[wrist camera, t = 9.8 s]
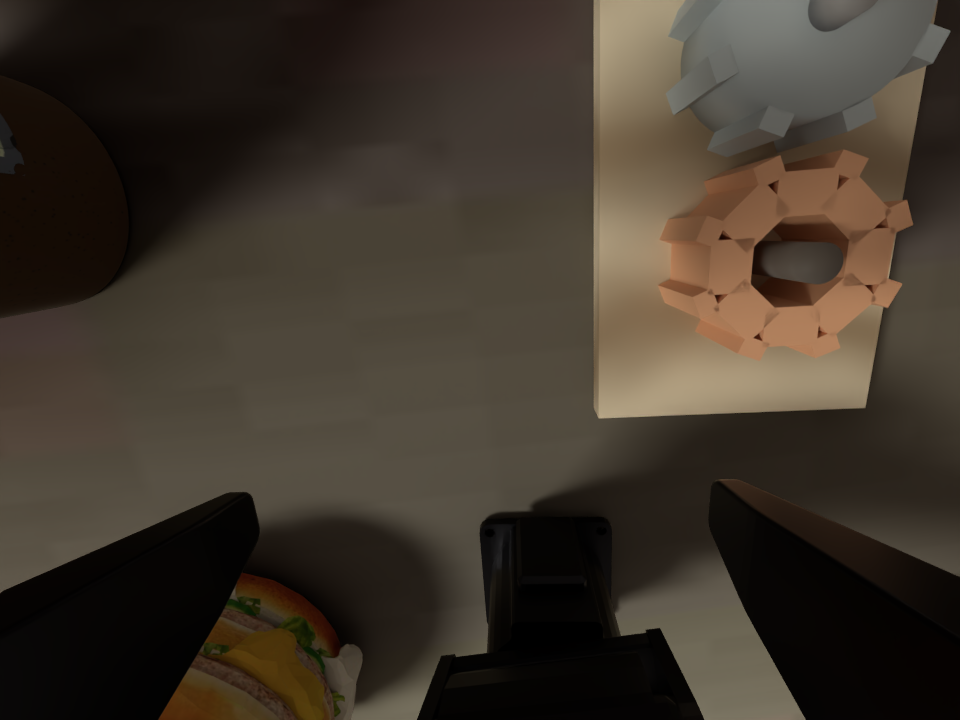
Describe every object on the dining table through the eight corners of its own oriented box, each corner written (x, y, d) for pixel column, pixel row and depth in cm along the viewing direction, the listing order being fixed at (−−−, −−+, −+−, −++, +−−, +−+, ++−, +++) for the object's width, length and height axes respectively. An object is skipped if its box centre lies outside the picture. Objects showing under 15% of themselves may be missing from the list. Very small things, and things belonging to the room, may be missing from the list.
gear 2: (817, 331, 18) (889, 354, 14) (655, 340, 18) (688, 365, 15) (840, 160, 16) (928, 141, 13) (661, 176, 17) (700, 161, 13)
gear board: (844, 397, 20) (973, 460, 14) (593, 408, 21) (624, 471, 15) (939, -183, 14) (1207, -441, 9) (593, -135, 15) (641, -343, 10)
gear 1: (843, 147, 16) (968, 115, 12) (663, 162, 16) (717, 137, 12) (873, -68, 14) (1033, -199, 10) (671, -44, 15) (737, -158, 10)
